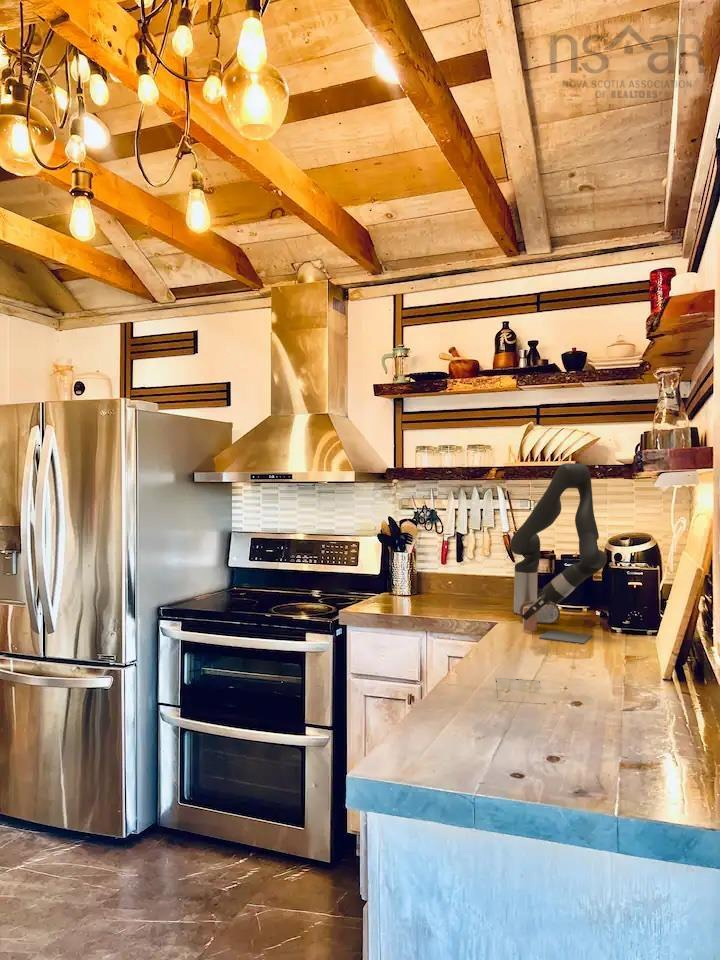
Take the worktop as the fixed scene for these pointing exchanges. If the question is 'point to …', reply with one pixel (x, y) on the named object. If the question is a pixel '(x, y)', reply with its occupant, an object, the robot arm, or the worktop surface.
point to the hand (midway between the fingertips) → (527, 616)
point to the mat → (565, 637)
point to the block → (530, 620)
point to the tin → (544, 612)
